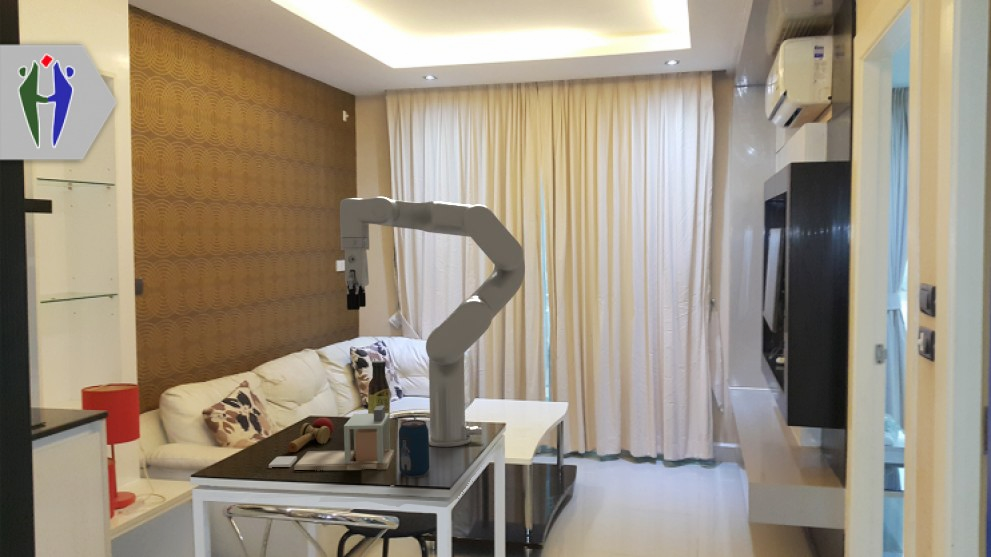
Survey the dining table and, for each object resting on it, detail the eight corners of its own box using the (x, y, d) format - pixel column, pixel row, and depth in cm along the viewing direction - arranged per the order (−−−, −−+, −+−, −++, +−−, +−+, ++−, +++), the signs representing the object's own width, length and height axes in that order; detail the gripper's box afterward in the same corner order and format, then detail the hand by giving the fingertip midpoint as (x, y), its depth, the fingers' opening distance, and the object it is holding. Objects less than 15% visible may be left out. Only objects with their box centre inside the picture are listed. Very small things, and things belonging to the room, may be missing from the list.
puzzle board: (394, 454, 191) (394, 449, 191) (386, 469, 178) (386, 464, 178) (307, 456, 191) (307, 451, 191) (294, 471, 178) (294, 465, 178)
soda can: (430, 469, 178) (429, 419, 178) (428, 478, 171) (427, 425, 171) (401, 469, 178) (400, 419, 177) (398, 478, 171) (396, 426, 170)
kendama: (308, 459, 194) (342, 433, 211) (302, 436, 193) (337, 411, 210) (283, 462, 196) (319, 436, 213) (277, 439, 196) (313, 415, 213)
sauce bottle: (380, 432, 215) (378, 363, 214) (363, 430, 218) (362, 362, 218) (395, 427, 220) (393, 360, 220) (379, 425, 224) (377, 359, 223)
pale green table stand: (390, 448, 191) (389, 402, 191) (382, 462, 178) (381, 413, 178) (354, 448, 191) (353, 403, 191) (344, 463, 178) (343, 414, 178)
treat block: (380, 459, 187) (379, 427, 187) (376, 465, 182) (376, 432, 182) (360, 459, 187) (359, 427, 187) (356, 465, 182) (355, 432, 182)
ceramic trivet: (297, 459, 188) (296, 456, 188) (289, 467, 181) (289, 464, 181) (277, 459, 188) (277, 456, 188) (268, 467, 181) (268, 464, 181)
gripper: (363, 244, 193) (365, 310, 193) (374, 244, 210) (375, 305, 211) (334, 244, 193) (336, 311, 193) (347, 245, 210) (348, 306, 211)
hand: (356, 308), depth 202 cm, fingers open, 9 cm apart
